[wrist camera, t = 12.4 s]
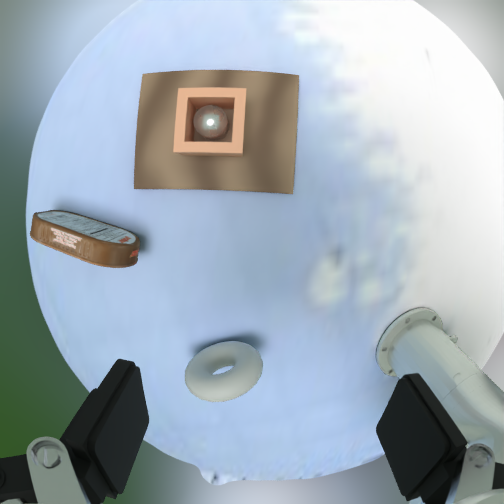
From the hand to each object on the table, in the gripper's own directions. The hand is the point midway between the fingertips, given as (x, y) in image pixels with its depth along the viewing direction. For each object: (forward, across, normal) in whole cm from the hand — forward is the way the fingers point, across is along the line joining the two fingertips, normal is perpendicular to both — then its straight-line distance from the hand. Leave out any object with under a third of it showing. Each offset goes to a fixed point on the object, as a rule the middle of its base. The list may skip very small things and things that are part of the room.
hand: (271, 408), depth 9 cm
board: (+25, +6, -13) cm, 29 cm away
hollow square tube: (+24, +6, -13) cm, 28 cm away
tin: (+25, +21, -1) cm, 33 cm away
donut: (+26, +3, +15) cm, 30 cm away
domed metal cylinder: (+24, +6, -13) cm, 28 cm away
